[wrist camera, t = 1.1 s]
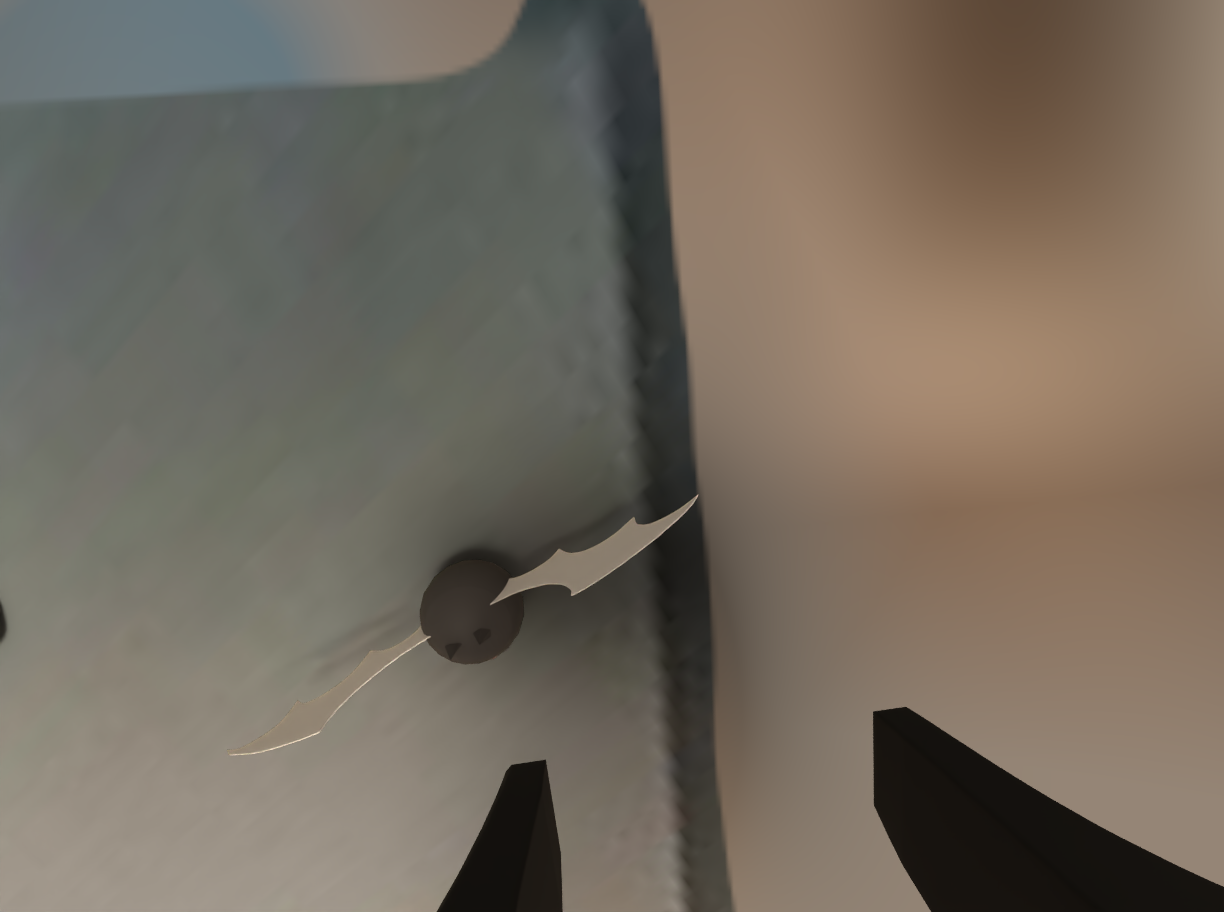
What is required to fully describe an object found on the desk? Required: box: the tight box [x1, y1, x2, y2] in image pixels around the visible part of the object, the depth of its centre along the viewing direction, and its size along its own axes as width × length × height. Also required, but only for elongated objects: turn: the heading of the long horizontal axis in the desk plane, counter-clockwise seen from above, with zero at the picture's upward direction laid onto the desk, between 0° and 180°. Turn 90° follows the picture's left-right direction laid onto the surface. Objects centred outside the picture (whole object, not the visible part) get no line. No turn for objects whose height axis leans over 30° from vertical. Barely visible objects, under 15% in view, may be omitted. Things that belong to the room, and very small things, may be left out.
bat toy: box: [227, 495, 698, 756], centre depth 18 cm, size 3×15×5 cm, turn 119°
